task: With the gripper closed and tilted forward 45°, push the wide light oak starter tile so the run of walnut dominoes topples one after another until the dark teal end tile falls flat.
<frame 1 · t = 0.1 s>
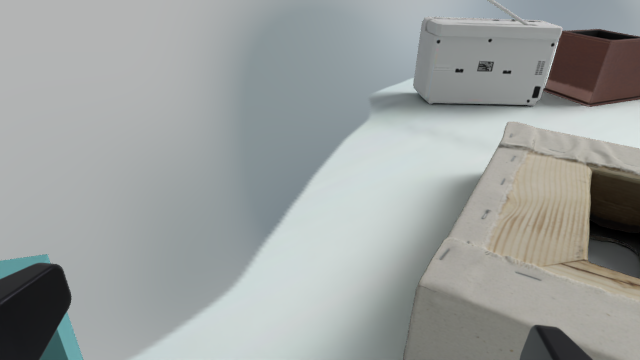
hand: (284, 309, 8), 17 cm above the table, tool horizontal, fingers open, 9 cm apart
desk organizer: (615, 93, 83), on the table
box: (604, 292, 34), on the table
stereo radio cassette player: (474, 101, 75), on the table
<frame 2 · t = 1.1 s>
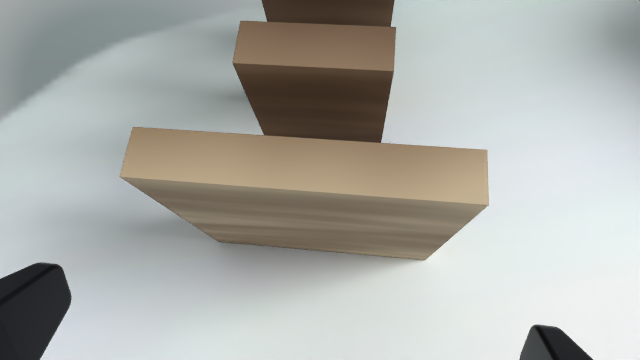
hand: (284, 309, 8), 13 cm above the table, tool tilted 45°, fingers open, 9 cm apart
domino 1: (321, 234, 22), on the table
domino 2: (328, 161, 23), on the table
domino 3: (334, 95, 24), on the table
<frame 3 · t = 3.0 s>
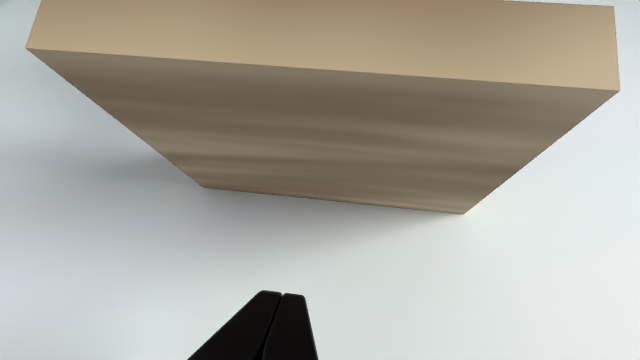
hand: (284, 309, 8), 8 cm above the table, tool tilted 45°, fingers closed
domino 1: (332, 181, 17), on the table
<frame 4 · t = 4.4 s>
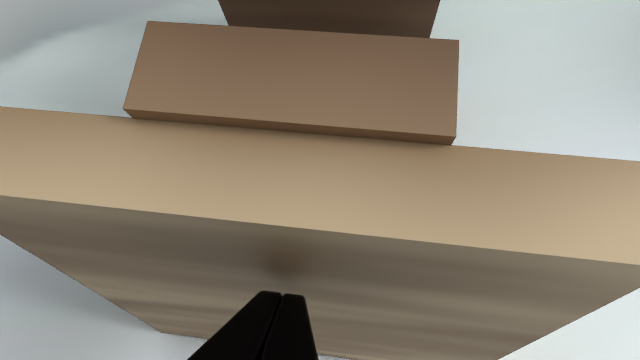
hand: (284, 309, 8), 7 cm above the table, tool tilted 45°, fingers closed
domino 1: (312, 328, 15), on the table, tilted 14°, touching domino 2
domino 2: (326, 217, 16), on the table, touching domino 1
domino 3: (337, 120, 17), on the table
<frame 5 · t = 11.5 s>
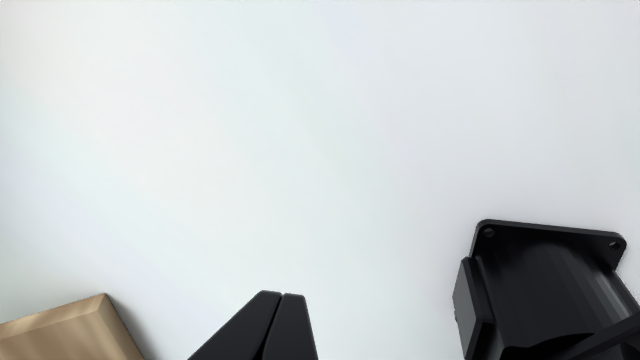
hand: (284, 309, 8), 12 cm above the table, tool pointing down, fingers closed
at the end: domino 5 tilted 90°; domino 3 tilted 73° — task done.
